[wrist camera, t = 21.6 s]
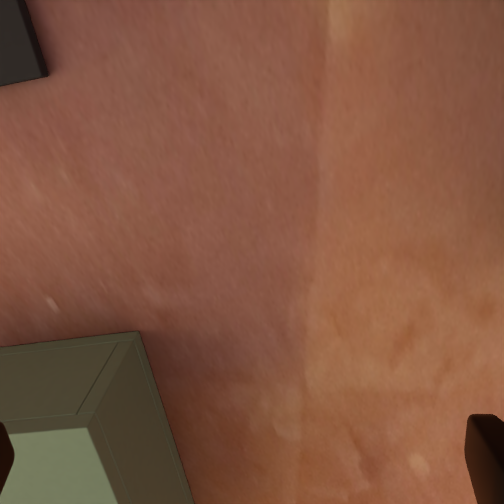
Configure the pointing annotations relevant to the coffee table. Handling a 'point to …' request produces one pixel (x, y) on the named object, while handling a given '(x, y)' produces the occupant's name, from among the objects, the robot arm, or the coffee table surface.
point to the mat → (18, 45)
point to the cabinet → (87, 425)
